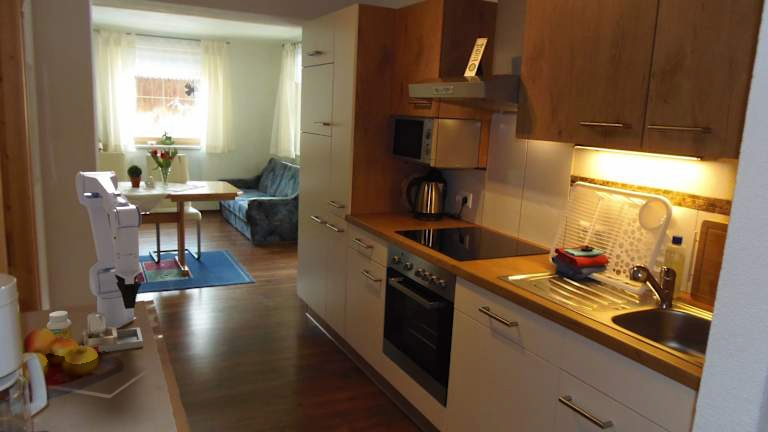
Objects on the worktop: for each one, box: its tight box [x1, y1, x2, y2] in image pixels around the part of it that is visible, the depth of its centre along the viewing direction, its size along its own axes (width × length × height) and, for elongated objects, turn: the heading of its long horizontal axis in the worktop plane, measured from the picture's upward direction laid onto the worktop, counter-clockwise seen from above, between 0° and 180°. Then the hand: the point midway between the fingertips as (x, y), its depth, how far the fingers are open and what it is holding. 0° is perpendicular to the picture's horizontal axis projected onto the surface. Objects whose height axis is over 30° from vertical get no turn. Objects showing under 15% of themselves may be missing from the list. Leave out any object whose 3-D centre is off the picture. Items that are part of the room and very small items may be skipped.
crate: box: [83, 326, 118, 346], centre depth 143 cm, size 8×8×3 cm
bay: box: [82, 327, 144, 353], centre depth 144 cm, size 14×10×2 cm
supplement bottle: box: [46, 310, 73, 340], centre depth 139 cm, size 5×5×10 cm
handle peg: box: [86, 311, 106, 339], centre depth 142 cm, size 4×4×7 cm
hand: (128, 303), depth 145 cm, fingers open, 7 cm apart
